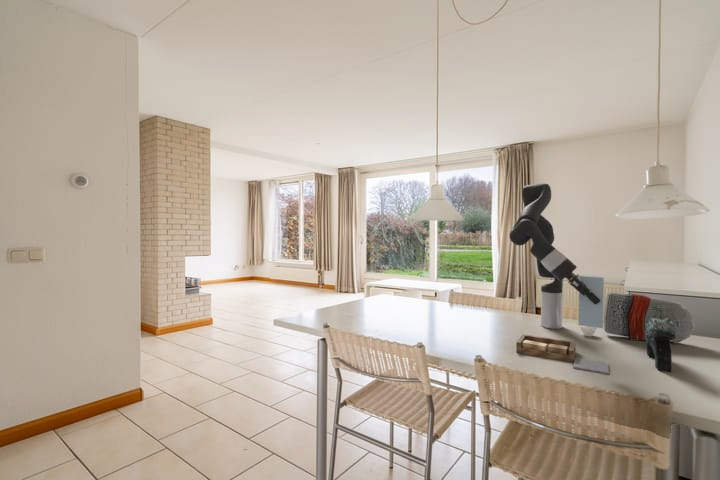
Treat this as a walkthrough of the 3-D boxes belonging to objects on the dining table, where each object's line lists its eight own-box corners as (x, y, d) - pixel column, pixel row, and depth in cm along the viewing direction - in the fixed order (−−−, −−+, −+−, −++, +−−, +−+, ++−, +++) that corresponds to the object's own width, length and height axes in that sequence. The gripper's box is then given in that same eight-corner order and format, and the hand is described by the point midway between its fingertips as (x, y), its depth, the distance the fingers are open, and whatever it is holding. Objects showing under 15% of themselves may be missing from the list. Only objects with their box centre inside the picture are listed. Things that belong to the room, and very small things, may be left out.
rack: (516, 352, 137) (516, 342, 137) (522, 343, 148) (522, 334, 148) (573, 362, 127) (573, 351, 127) (575, 352, 137) (575, 341, 137)
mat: (574, 359, 129) (574, 357, 129) (608, 364, 124) (608, 363, 124) (573, 368, 121) (573, 366, 121) (608, 374, 116) (608, 372, 116)
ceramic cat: (676, 375, 115) (677, 313, 115) (651, 371, 118) (652, 311, 118) (661, 356, 132) (661, 302, 132) (639, 353, 135) (640, 301, 135)
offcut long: (522, 352, 138) (522, 342, 138) (525, 349, 141) (525, 339, 141) (544, 357, 133) (544, 346, 133) (547, 354, 136) (547, 343, 136)
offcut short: (547, 356, 133) (547, 346, 133) (549, 353, 136) (549, 343, 136) (566, 360, 129) (566, 349, 129) (567, 357, 132) (567, 346, 132)
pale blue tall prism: (578, 325, 123) (579, 276, 122) (579, 323, 126) (579, 275, 125) (603, 328, 119) (603, 277, 118) (602, 325, 122) (603, 276, 121)
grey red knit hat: (608, 292, 155) (699, 304, 141) (606, 290, 161) (693, 301, 147) (603, 335, 156) (692, 351, 142) (601, 331, 162) (687, 346, 148)
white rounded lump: (599, 337, 156) (599, 321, 156) (585, 337, 156) (585, 321, 156) (590, 333, 162) (590, 318, 162) (577, 333, 162) (577, 318, 162)
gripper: (564, 258, 120) (608, 298, 114) (567, 256, 132) (607, 291, 125) (547, 273, 123) (588, 312, 117) (551, 269, 135) (589, 305, 128)
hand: (598, 301), depth 121 cm, fingers closed on pale blue tall prism, 3 cm apart
